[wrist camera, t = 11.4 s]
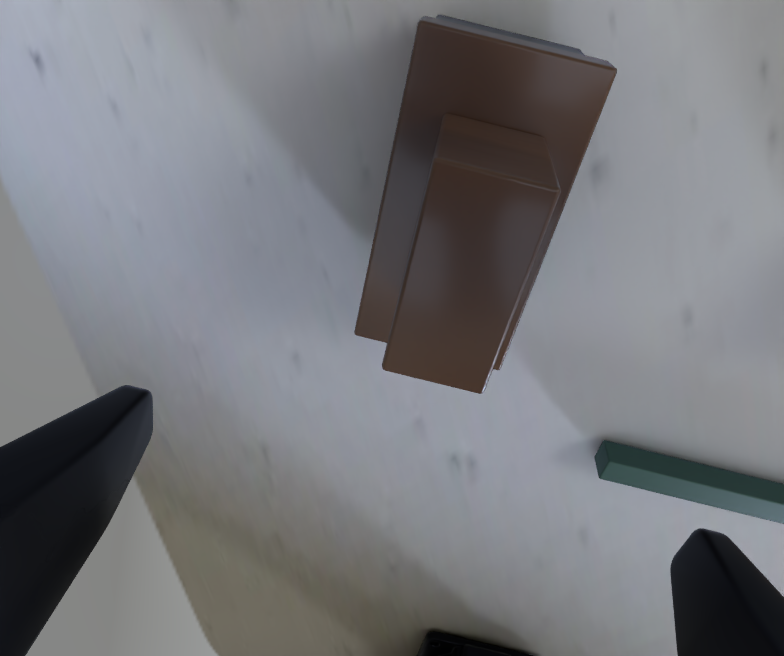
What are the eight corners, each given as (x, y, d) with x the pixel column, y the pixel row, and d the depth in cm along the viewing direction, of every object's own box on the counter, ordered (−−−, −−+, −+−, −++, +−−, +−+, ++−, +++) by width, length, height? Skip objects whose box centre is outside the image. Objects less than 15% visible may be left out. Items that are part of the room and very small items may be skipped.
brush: (497, 302, 21) (503, 458, 14) (374, 272, 21) (327, 415, 14) (590, 42, 16) (659, 106, 10) (432, 3, 16) (398, 41, 10)
